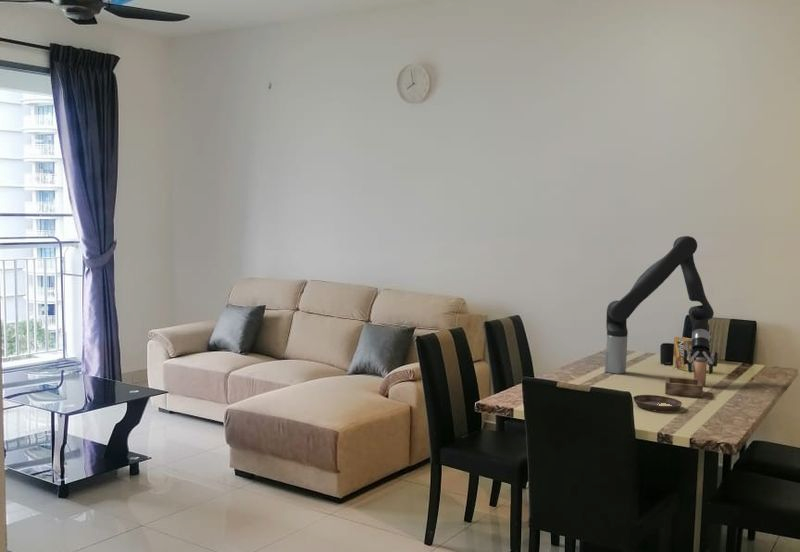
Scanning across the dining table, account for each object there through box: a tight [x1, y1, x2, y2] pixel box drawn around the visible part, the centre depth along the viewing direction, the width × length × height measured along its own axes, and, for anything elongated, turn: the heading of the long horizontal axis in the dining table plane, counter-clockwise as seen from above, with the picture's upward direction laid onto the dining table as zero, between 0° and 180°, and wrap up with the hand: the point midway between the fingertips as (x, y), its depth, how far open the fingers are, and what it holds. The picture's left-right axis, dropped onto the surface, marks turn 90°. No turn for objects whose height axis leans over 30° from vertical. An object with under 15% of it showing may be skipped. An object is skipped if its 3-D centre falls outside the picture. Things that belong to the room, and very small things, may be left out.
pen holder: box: [659, 342, 674, 366], centre depth 376 cm, size 9×9×10 cm
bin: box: [664, 376, 704, 399], centre depth 313 cm, size 14×14×5 cm
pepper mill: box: [693, 357, 708, 387], centre depth 328 cm, size 5×5×12 cm
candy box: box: [672, 336, 695, 372], centre depth 364 cm, size 9×4×15 cm, turn 33°
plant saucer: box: [632, 394, 683, 412], centre depth 287 cm, size 18×18×3 cm
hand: (700, 372), depth 327 cm, fingers open, 7 cm apart
